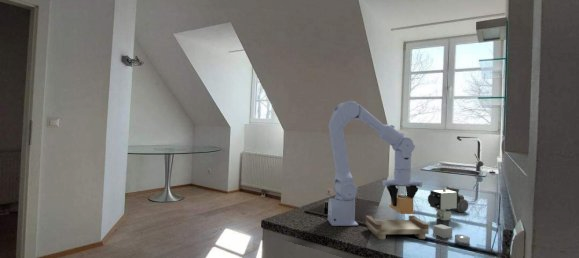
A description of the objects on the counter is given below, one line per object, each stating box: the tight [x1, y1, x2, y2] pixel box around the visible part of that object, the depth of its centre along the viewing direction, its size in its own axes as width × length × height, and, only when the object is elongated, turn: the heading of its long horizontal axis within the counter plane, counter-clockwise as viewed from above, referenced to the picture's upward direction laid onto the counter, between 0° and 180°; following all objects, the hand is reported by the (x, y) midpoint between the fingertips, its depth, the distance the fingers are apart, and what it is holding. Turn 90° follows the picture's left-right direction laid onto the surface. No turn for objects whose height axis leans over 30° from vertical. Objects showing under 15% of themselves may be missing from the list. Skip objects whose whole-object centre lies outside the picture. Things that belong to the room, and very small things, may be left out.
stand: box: [365, 215, 430, 240], centre depth 103 cm, size 17×10×4 cm, turn 95°
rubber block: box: [432, 223, 453, 239], centre depth 102 cm, size 4×4×3 cm
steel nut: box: [454, 234, 471, 246], centre depth 95 cm, size 4×4×2 cm
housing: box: [389, 193, 416, 215], centre depth 116 cm, size 5×10×6 cm, turn 5°
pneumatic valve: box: [427, 187, 460, 222], centre depth 121 cm, size 6×12×12 cm, turn 108°
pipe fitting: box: [446, 185, 469, 214], centre depth 136 cm, size 12×8×10 cm
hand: (401, 205), depth 116 cm, fingers closed on housing, 5 cm apart
